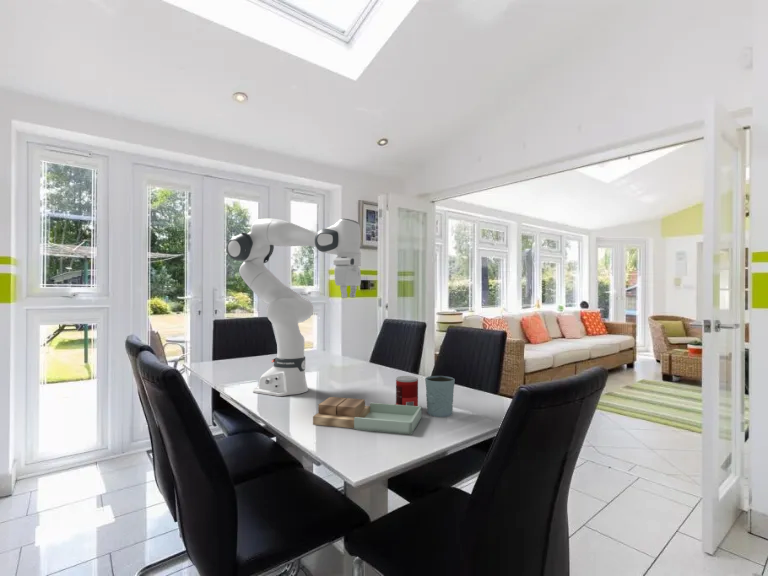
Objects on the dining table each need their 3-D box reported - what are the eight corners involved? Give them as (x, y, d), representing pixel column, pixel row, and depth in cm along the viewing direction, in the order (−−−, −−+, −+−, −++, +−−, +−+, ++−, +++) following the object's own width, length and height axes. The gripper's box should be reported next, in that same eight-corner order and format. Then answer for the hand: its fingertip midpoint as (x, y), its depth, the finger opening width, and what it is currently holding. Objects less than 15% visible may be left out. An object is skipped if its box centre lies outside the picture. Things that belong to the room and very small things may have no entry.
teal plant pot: (426, 417, 140) (426, 381, 140) (423, 408, 150) (423, 375, 150) (456, 417, 140) (456, 381, 140) (452, 408, 150) (452, 375, 150)
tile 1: (318, 413, 135) (318, 404, 135) (330, 405, 145) (330, 396, 145) (335, 415, 134) (335, 406, 134) (346, 406, 143) (346, 398, 143)
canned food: (421, 407, 151) (421, 377, 151) (410, 413, 145) (410, 381, 145) (403, 404, 156) (403, 374, 156) (391, 409, 149) (391, 378, 149)
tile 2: (337, 415, 134) (337, 406, 134) (348, 406, 143) (348, 398, 143) (355, 417, 132) (355, 407, 132) (364, 408, 142) (364, 399, 142)
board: (313, 424, 133) (313, 416, 133) (332, 410, 148) (332, 403, 148) (355, 428, 129) (355, 420, 129) (370, 413, 144) (370, 406, 144)
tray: (354, 429, 128) (354, 417, 128) (370, 412, 145) (370, 402, 145) (411, 434, 124) (411, 422, 124) (421, 416, 141) (421, 406, 141)
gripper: (349, 263, 171) (349, 297, 171) (331, 259, 151) (331, 298, 151) (364, 263, 169) (364, 297, 169) (348, 259, 149) (347, 298, 149)
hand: (348, 297), depth 160 cm, fingers open, 8 cm apart
